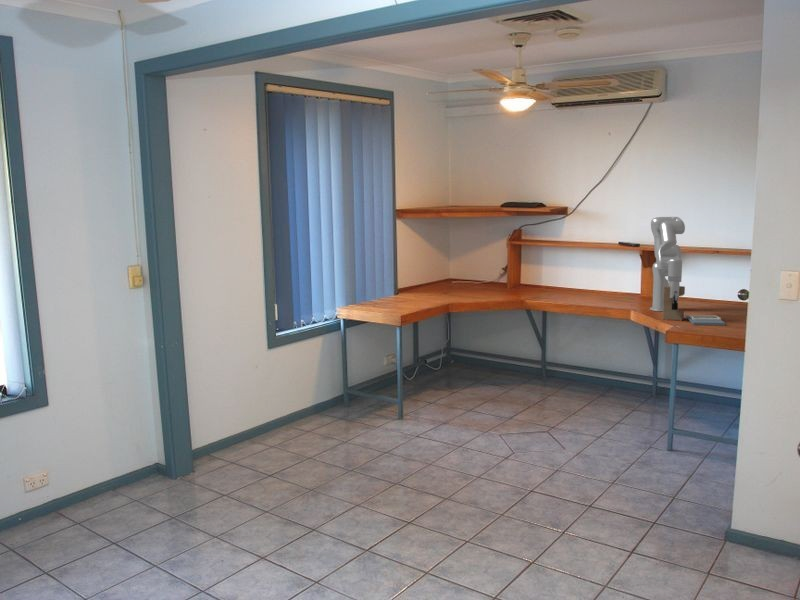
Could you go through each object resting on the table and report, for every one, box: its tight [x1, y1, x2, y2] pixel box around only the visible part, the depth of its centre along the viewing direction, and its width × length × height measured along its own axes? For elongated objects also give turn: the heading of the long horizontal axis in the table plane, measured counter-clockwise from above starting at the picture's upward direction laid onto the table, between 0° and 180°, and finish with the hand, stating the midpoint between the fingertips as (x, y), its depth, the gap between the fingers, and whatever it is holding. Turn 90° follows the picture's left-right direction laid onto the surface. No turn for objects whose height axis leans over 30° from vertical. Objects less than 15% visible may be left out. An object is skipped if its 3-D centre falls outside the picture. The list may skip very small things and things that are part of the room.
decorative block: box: [662, 285, 686, 321], centre depth 408 cm, size 11×6×20 cm, turn 57°
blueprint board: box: [684, 314, 726, 326], centre depth 401 cm, size 24×17×2 cm
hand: (673, 308), depth 408 cm, fingers open, 6 cm apart
